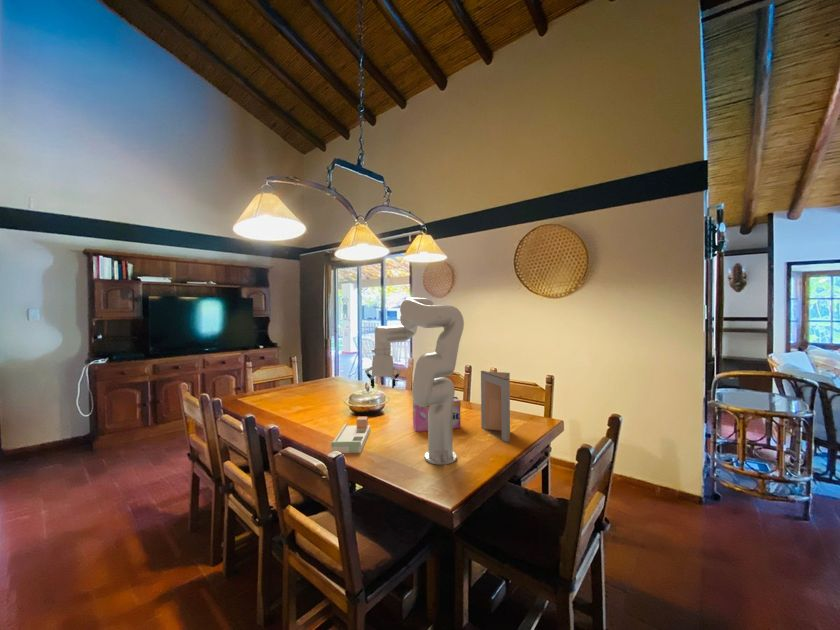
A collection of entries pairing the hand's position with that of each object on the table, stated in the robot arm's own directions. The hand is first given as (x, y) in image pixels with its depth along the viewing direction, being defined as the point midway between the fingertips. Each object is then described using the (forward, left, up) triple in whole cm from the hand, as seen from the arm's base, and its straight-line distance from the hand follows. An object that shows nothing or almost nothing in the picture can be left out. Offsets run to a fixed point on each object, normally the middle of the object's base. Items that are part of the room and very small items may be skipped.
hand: (383, 387), depth 167 cm
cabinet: (-4, -56, -21) cm, 60 cm away
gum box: (+5, -26, -22) cm, 34 cm away
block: (-1, +10, -19) cm, 21 cm away
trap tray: (-11, +13, -21) cm, 27 cm away
